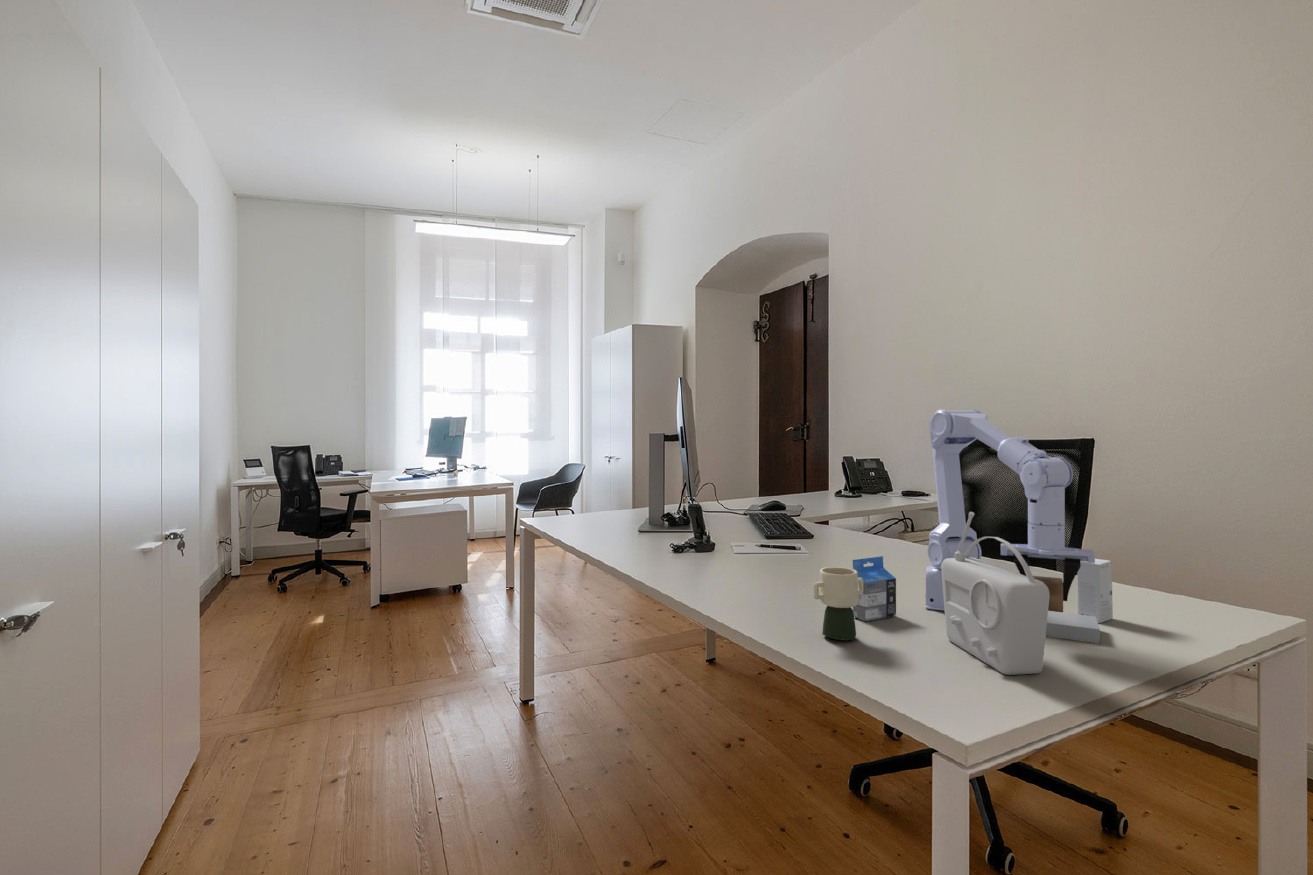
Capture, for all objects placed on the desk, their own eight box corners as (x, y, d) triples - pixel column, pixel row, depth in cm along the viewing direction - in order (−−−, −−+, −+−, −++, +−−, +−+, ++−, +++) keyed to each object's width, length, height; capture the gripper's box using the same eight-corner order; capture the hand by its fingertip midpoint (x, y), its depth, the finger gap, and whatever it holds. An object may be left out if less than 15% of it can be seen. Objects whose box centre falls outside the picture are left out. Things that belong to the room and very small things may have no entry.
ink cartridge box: (865, 622, 129) (864, 563, 129) (851, 617, 132) (851, 559, 132) (897, 616, 133) (896, 559, 132) (883, 611, 136) (882, 555, 136)
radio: (932, 636, 120) (931, 507, 119) (973, 635, 120) (972, 506, 120) (1003, 682, 98) (1003, 524, 98) (1053, 680, 98) (1053, 523, 98)
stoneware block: (1042, 637, 120) (1042, 622, 120) (1042, 624, 127) (1042, 610, 127) (1099, 645, 115) (1099, 629, 115) (1095, 631, 123) (1095, 616, 123)
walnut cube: (1030, 608, 113) (1030, 581, 113) (1030, 601, 117) (1030, 575, 117) (1063, 612, 110) (1063, 584, 110) (1062, 605, 115) (1061, 578, 114)
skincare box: (1100, 623, 126) (1100, 564, 126) (1076, 618, 130) (1076, 560, 130) (1113, 618, 130) (1113, 560, 129) (1089, 613, 133) (1089, 557, 133)
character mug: (852, 629, 125) (851, 564, 124) (875, 640, 118) (874, 572, 118) (804, 635, 121) (803, 569, 121) (825, 647, 114) (824, 577, 114)
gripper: (999, 523, 114) (1000, 597, 114) (1096, 529, 106) (1096, 608, 107) (1001, 518, 120) (1001, 588, 120) (1092, 524, 112) (1093, 598, 113)
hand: (1046, 597), depth 114 cm, fingers closed on walnut cube, 5 cm apart
